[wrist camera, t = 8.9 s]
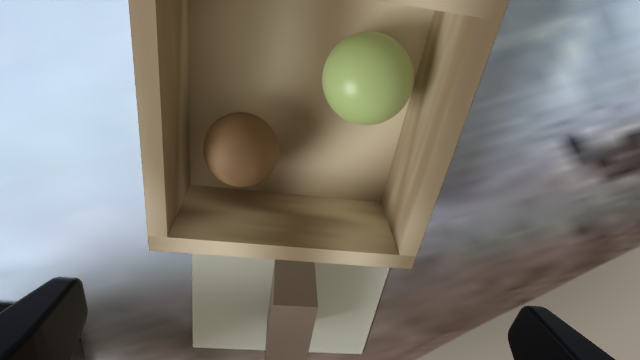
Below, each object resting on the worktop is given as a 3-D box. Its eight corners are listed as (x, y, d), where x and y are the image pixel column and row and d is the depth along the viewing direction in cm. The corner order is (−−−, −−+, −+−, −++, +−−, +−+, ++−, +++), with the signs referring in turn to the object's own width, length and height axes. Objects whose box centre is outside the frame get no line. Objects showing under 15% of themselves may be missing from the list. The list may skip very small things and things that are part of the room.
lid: (195, 337, 28) (179, 403, 24) (194, 195, 22) (172, 251, 18) (360, 344, 30) (371, 407, 26) (400, 214, 24) (424, 269, 20)
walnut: (209, 161, 20) (195, 197, 17) (211, 97, 18) (195, 125, 15) (276, 168, 20) (274, 204, 17) (283, 106, 19) (282, 135, 16)
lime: (313, 102, 19) (318, 134, 15) (326, 17, 17) (335, 34, 13) (389, 111, 19) (410, 145, 16) (410, 30, 17) (438, 50, 14)
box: (177, 189, 21) (149, 250, 17) (169, -67, 15) (122, -74, 11) (388, 209, 23) (411, 269, 19) (455, -16, 17) (511, -5, 13)
